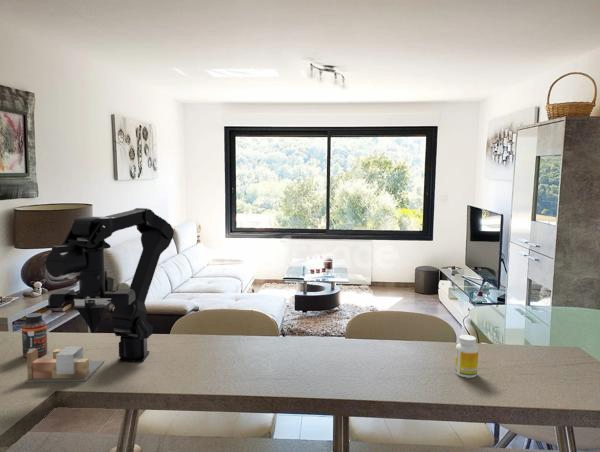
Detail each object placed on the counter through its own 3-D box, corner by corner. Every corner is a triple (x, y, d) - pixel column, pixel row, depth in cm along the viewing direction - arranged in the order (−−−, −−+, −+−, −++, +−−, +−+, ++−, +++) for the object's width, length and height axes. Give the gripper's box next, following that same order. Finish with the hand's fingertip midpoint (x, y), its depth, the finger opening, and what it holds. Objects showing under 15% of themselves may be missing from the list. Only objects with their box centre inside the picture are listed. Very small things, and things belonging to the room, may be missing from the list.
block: (100, 362, 121) (99, 338, 120) (85, 378, 112) (83, 352, 111) (47, 363, 120) (46, 339, 120) (27, 379, 111) (26, 353, 110)
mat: (104, 362, 123) (104, 360, 122) (86, 381, 111) (86, 379, 111) (50, 362, 122) (50, 361, 122) (26, 381, 110) (26, 380, 110)
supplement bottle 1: (36, 359, 124) (34, 318, 123) (17, 357, 125) (15, 317, 124) (52, 351, 130) (50, 312, 129) (34, 349, 131) (32, 311, 130)
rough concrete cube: (83, 365, 115) (82, 346, 115) (73, 374, 110) (72, 354, 110) (67, 365, 115) (66, 346, 115) (56, 374, 110) (55, 354, 109)
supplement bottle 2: (450, 371, 118) (451, 335, 117) (465, 368, 120) (467, 332, 119) (466, 380, 113) (467, 342, 112) (481, 376, 116) (483, 339, 115)
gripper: (141, 262, 119) (142, 321, 120) (67, 262, 118) (70, 322, 120) (126, 271, 108) (129, 335, 109) (45, 271, 107) (48, 336, 109)
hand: (94, 332), depth 112 cm, fingers closed
